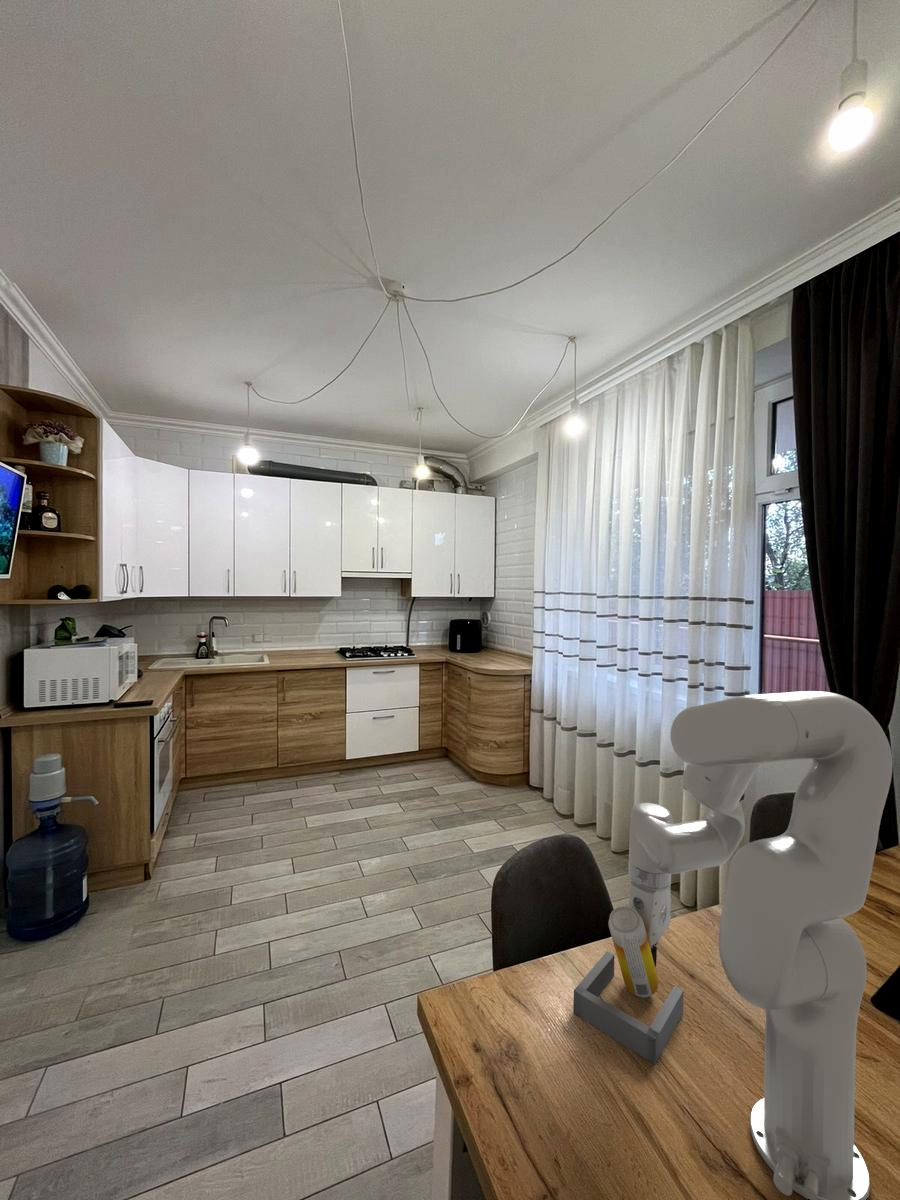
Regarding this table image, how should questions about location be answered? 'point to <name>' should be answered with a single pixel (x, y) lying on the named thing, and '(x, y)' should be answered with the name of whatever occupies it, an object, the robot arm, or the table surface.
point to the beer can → (633, 951)
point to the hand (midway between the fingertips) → (646, 965)
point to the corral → (619, 1023)
